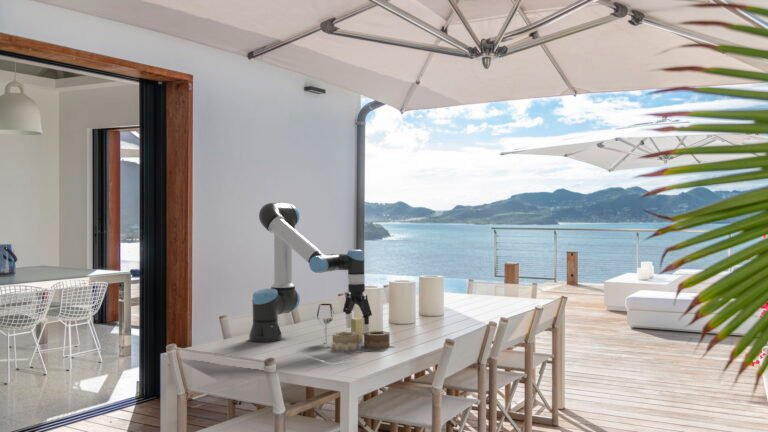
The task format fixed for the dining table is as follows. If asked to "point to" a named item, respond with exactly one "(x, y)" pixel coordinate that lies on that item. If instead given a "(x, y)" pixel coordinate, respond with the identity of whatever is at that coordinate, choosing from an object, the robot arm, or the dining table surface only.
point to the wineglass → (325, 316)
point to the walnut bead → (376, 339)
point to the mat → (360, 349)
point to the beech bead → (345, 341)
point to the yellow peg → (357, 327)
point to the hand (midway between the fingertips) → (357, 329)
